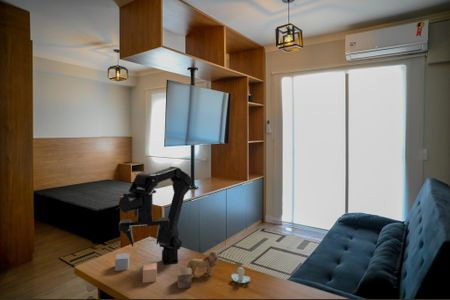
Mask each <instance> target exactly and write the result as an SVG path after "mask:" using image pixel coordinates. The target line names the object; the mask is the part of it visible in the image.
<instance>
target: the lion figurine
mask: <svg viewBox="0 0 450 300" xmlns="http://www.w3.org/2000/svg"><path fill="white" fill-rule="evenodd" d="M219 258H220V257H219V252H218V251H217V250H212V251H210V252H209V254H208V255H207V256H206V257H204V258H200V259H197V258H192V259H190V260H189V261H188V263H187V265H186V268H191V274H192V276H193V278H198V275H197V274H195V271H196V270H197V268H198V269H201V270H202V269H205V273H206V274H207V275H208V277H211V276H212V275H213V274H212V268H213V267H214V268H215V266H216V264H217V263H218V260H219Z"/></svg>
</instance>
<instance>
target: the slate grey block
mask: <svg viewBox="0 0 450 300" xmlns="http://www.w3.org/2000/svg"><path fill="white" fill-rule="evenodd" d="M129 266H130V252H129V253H128V252H127V253H116V256H115V259H114V271H115V272H118V271H128V270H129Z"/></svg>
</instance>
